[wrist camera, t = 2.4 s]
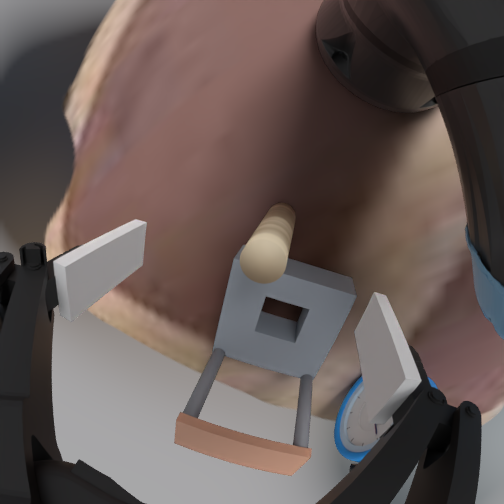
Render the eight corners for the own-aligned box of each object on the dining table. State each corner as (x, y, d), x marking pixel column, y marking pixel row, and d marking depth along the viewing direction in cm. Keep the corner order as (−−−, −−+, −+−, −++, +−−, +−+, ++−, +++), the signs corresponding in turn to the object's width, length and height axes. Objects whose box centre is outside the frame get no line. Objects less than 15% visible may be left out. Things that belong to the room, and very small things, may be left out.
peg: (271, 199, 27) (245, 233, 16) (299, 207, 27) (292, 248, 16) (264, 225, 28) (235, 275, 17) (291, 233, 28) (278, 289, 17)
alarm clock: (398, 337, 30) (429, 436, 16) (426, 355, 30) (458, 444, 16) (332, 397, 35) (330, 488, 21) (362, 410, 35) (366, 494, 21)
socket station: (243, 244, 30) (187, 326, 16) (351, 277, 28) (377, 379, 15) (216, 353, 36) (174, 443, 22) (302, 379, 35) (291, 476, 21)
